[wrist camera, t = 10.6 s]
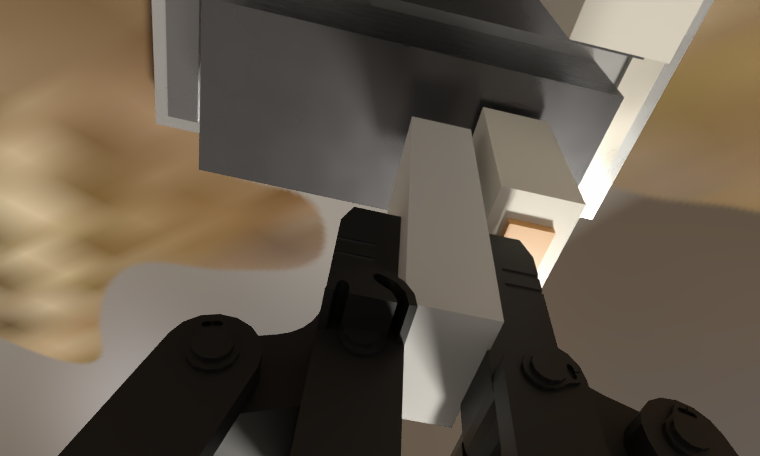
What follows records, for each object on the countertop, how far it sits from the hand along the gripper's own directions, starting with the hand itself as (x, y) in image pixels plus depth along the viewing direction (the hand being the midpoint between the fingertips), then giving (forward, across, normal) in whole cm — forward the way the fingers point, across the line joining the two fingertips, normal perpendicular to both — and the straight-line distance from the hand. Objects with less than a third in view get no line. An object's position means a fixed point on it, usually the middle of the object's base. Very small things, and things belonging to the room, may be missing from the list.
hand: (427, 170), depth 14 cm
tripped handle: (+1, +2, 0) cm, 2 cm away
